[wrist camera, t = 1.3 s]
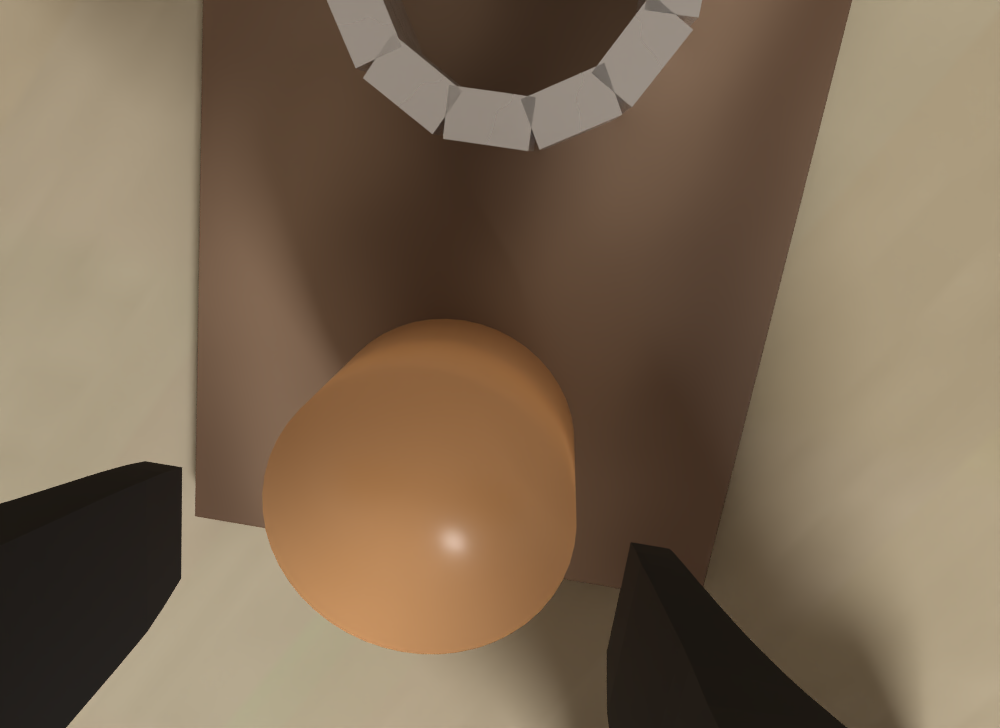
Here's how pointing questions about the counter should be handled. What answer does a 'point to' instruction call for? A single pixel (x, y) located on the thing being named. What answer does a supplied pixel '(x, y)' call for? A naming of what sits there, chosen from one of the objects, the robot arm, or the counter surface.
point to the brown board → (509, 238)
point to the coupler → (427, 490)
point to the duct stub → (502, 116)
